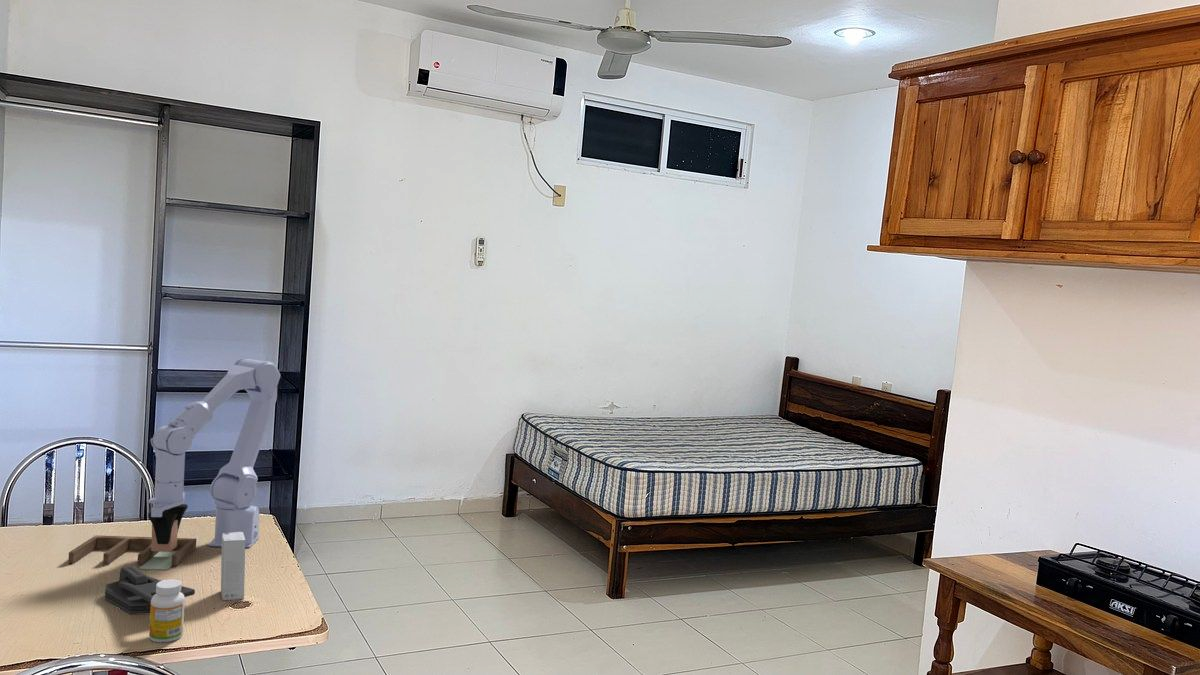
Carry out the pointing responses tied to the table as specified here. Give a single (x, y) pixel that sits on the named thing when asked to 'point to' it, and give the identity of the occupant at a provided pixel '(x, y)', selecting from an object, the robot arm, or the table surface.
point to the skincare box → (232, 566)
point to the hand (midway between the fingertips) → (167, 540)
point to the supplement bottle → (167, 612)
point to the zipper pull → (135, 591)
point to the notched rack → (145, 558)
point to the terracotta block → (172, 541)
